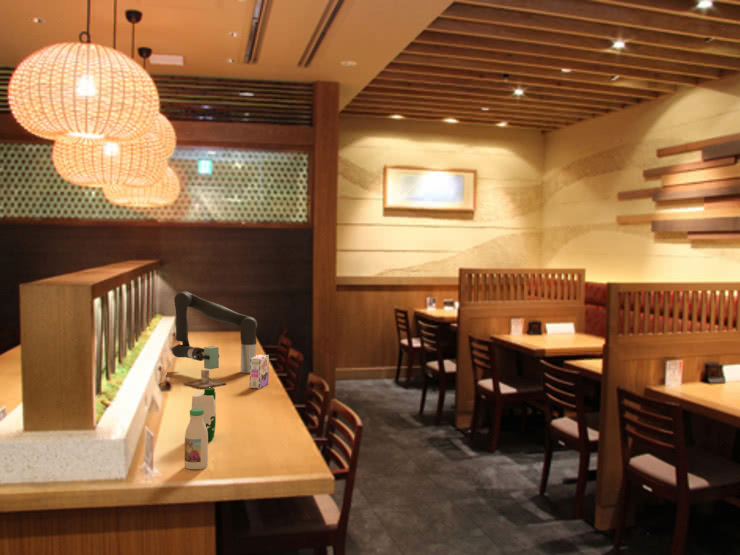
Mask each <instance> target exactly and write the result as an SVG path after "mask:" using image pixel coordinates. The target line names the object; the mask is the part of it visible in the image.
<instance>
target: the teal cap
mask: <svg viewBox="0 0 740 555" xmlns="http://www.w3.org/2000/svg"><path fill="white" fill-rule="evenodd" d="M203 348H204V355H208V356H210V359H209V360H207V359H204V360H203V362H204V363H203V367H204V369H205V370H215V369H219V366H220V365H219V364H220V362H219V360H220V351H219V350H220V349H219V346H213V345H212V346H204V347H203Z"/></svg>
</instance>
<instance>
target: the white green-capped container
mask: <svg viewBox="0 0 740 555" xmlns="http://www.w3.org/2000/svg"><path fill="white" fill-rule="evenodd" d="M215 388H216V387H211V388H205V389H203V390H204V391H196V392H195V393H193V395H192V398H191V409H195V408H200V409H203V410H204V414H203V415H204V416H203V421H204V423H205V426H206V428H207V432H208V441H211V442H212V441H213V439H214V437H215V434H216V433H215V431H216V424H217V422H216V421H217V418H216V416H217V415H216V412H217V411H216V410H217V409H216V408H217V405H216V404H217V403H216V402H217V399H216V398H217V393H216V391H215V390H216V389H215Z"/></svg>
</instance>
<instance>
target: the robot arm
mask: <svg viewBox="0 0 740 555" xmlns="http://www.w3.org/2000/svg"><path fill="white" fill-rule="evenodd" d="M173 301H174V307H175V319H176V320H175V323H176V325H175V340H176V341H177V342H181V343H182V344H177V345H174V346H173V347H172V351H171V353H172V355H173V356H174V357H176V358H187V359H191V360H193V361H194V360H195V361H198V362H202V361H203V362H204V359H207V360H209V359H210V356H208V355H204V347H198V346H190V340H189V324H188V323H189V322H188V318H187V315H188V313H187V312H188V308H192V309H194V310H197V311H199V312H201V313H202V314H203V315H204V316H206V317H208V318H210V319H212V320H215V321H219V322H220V323H221V322H222V323H226V324H227V323H228V324H231V325H234V326H237V327H239V328H240V330H239V331H240V332H239V333H240V334H239V335H240V373H243V374H250V358H253V357H256V356H257V327H258V321H257V320H256V318H254V317H252V316H248V315H245V314H242V313H239V312H236V311H234V310H232V309H229V308H228V307H226V306H224V305H221V304H218V303H215V302H213V301H209V300H207V299H204V298H201V297H199V296H198V295H195V294H193V293H191V292H189V291H186V290H184V291H183V290H182V291H180V292H178V293H177V294H175V296H174V299H173Z"/></svg>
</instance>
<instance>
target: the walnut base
mask: <svg viewBox="0 0 740 555" xmlns="http://www.w3.org/2000/svg"><path fill="white" fill-rule="evenodd" d="M200 372H201V374H200V376H201V377H200V379H198V380H193V381H187V382H186V381H185V382H184V383H183V384H185V385H184V386H188V385H189V387H191V386H192V388H195V387H196V388H195V389H198V388H200V389H199V390H204V389H203V388H209V387H211V388H216V387H215V386H217V387H221V385H222V386H226V385H227V382H224V381H220V380H217V379H216V380H215V379H213V378H210V369H201V370H200Z"/></svg>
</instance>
